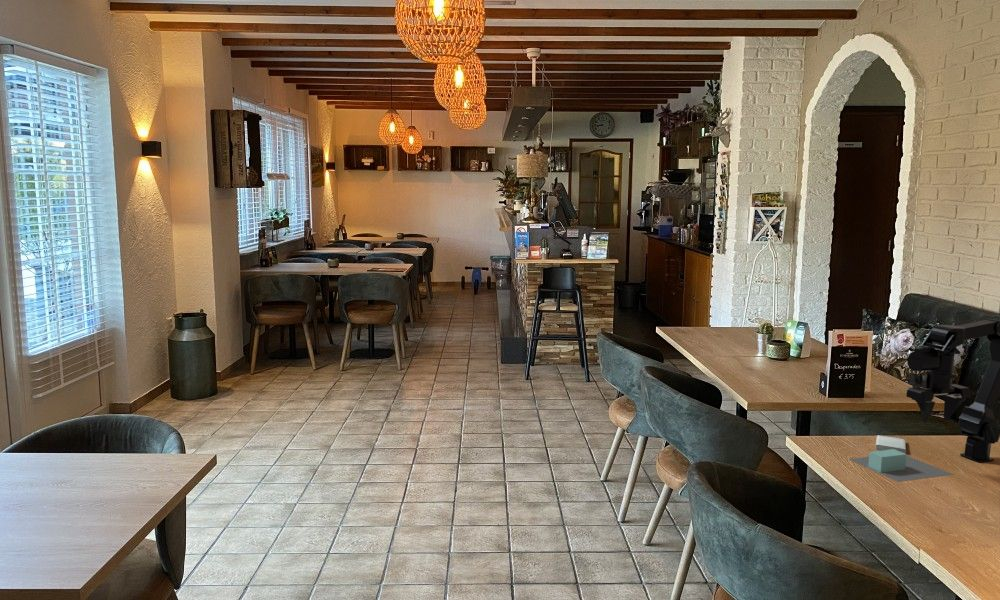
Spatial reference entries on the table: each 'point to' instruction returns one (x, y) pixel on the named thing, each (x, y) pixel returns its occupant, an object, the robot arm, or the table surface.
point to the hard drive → (890, 443)
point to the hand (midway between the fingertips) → (935, 421)
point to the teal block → (887, 460)
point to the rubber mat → (907, 470)
